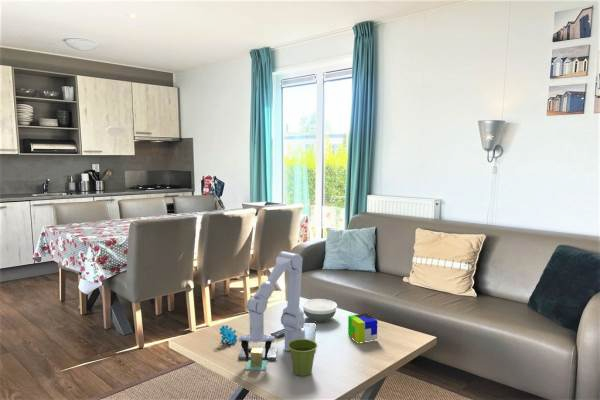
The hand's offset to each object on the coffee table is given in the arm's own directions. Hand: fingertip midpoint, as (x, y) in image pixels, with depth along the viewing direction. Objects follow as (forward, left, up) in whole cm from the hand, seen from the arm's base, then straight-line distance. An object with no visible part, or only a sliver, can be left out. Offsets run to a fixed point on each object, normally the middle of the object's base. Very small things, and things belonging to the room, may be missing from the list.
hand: (256, 358), depth 172 cm
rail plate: (0, -10, -3) cm, 10 cm away
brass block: (0, 0, -3) cm, 3 cm away
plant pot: (-19, +4, -3) cm, 20 cm away
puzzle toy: (-47, -28, -3) cm, 55 cm away
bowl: (-27, -52, -3) cm, 58 cm away
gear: (+16, -22, -3) cm, 27 cm away
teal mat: (0, 0, -3) cm, 3 cm away
